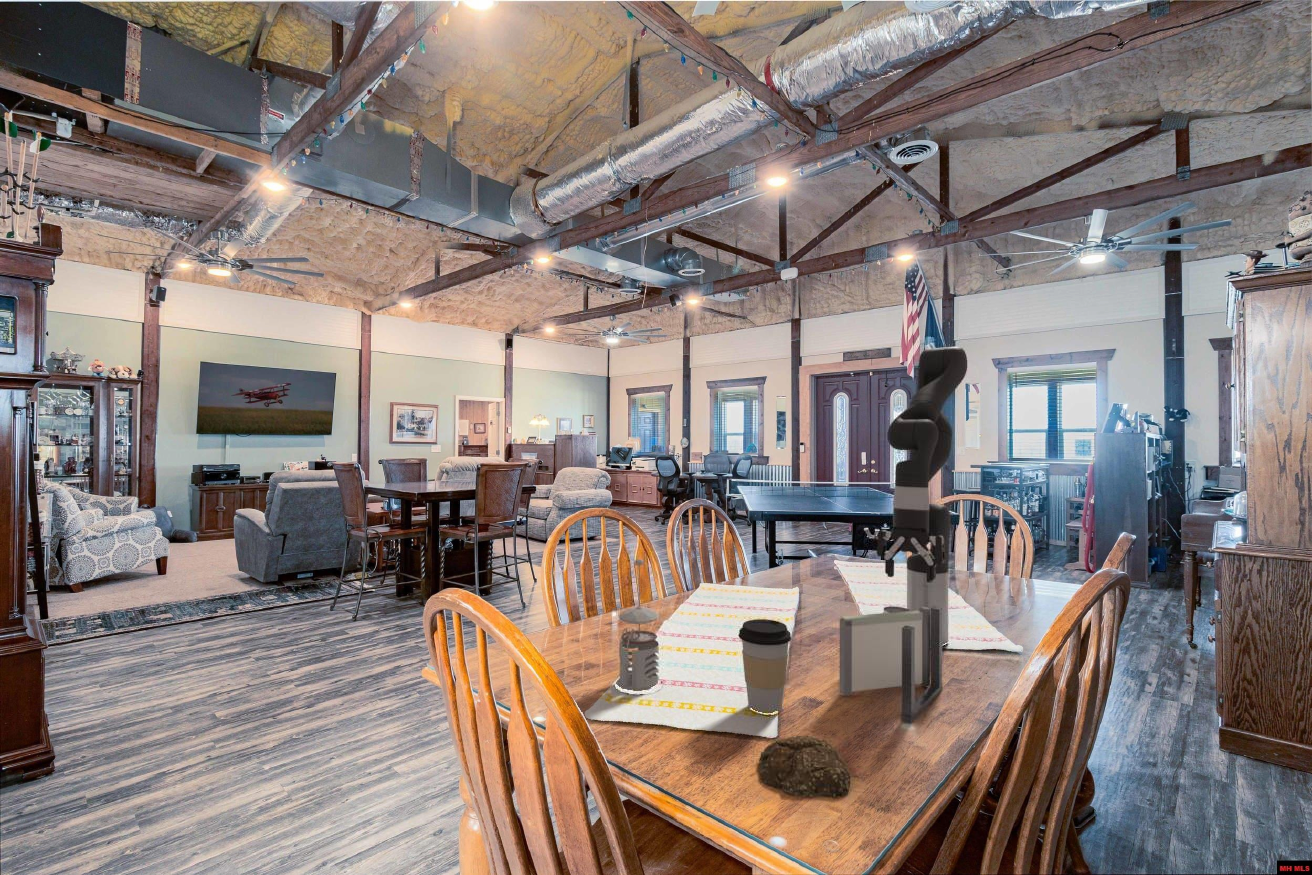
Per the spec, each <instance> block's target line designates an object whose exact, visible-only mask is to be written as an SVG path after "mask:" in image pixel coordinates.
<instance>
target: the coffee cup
mask: <svg viewBox="0 0 1312 875" xmlns="http://www.w3.org/2000/svg"><path fill="white" fill-rule="evenodd" d="M738 638H739V639H741V643H742V650H741V651H742V653H741V654H742V662H743V663H742V664H743V672H744V681H745V686H746V694H747V703H748V704H747V705H748V708H749V707H750V708H752V709H753V710H755V711H758V712H762V713H773V712H775V711H778V713H777V714H779V713H780V712H782V708H783V700H784V699H783V698H784V690H785V685H786V680H787V669H788V661H789V660H788V659H789V651H788V650H789V642H790V641H791V640H792V636H791V632H790V630H788V626H787V625H786V624H785V623H784V622H781V621H778V620H773V619H765V618H762V619H761V618H759V619H758V618H756V619H749V620H746V621H744V622H743V623H742V627H740V629H739V631H738Z"/></svg>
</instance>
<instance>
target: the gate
mask: <svg viewBox="0 0 1312 875" xmlns="http://www.w3.org/2000/svg"><path fill="white" fill-rule="evenodd" d="M904 626H910V627H915V685H919V686H922V687H929V686H930V685H931V646H930V608H928V607H919V611H918V610H917V611H905V612H892V613H883V612H881V613H880V612H879V613H870V614H857V615H855V614H854V615H844V616H840V618H839V693H840V694H841V695H842V696H850V695H851V696H852V695H853V692H858V691H859V692H860V691H868V690H877V689H885V688H895V687H896V688H897V687H902V627H904Z"/></svg>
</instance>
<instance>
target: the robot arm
mask: <svg viewBox="0 0 1312 875" xmlns="http://www.w3.org/2000/svg"><path fill="white" fill-rule="evenodd" d="M917 366H918V368H917V386H916V387H917V389H916V393H915V394H914V395H913V397H912V399H911V400H910V402H909V405H908V407H907V408H906V409H904V411H902V412H901V413H900V414H899V415H898V416H897V417H896V418H895V419H893V420H892V421H891V423H890V425H889V427H888V429H887V430H888V431H887V433H886V434H887V438H886V439H887V442H888V443H889V445H890V446H891V448H893V449H894V450H898V451H910V452H909V453H910V454H909V459H906V460H901V461H898V462H897V463H896V465H895V470H894V471H895V474H894V476H895V478H894V479H895V480H894V481H895V482H894V483H895V484H894V494H893V501H892V506H893V509H892V510H893V511H892V513H893V514H892V531H888V530H886V529H882V530H879V531H878V536H877V548H876V555H877V556H878V557H880V558H883V559H884V563H885V564H884V565H885V566H884V568H885V569H884V573H885V575H887V578H888V577H889V578H893V577H894V575H895V560H894V558H895V557H896V556H897V554H898V553H900V552H903V553H907V552H908V553H913V554H911V555H909V556H907V558H906V608H907V609H909V610H911V611H917V610H918V611H919V607H928V608H930V647H931V607H933V606H936V607H942V645H943V644H945V643H947V642H948V643H949V560H950V538H951V537H950V536H951V535H950V534H951V513H950V510H949V508H948V507H947V506H946V505H945V504H940V503H939V504H938V503H930V490H929V483H930V481H931V480H932V479H933V478H934V476H935V475H936V474H937V473H938V472H939V471H940V470H941V469H942V467H944V465H945V463H946V462H947V461H948V459H949V458H950V455H951V452H952V451H951V450H952V439H953V428H952V425H951V423H950V421H949V420H948V418H947V416H946V415H945V413H944V412H943V407H944V405H945V403H947V400H948V399H949V398H950V397H951V395H952V394H953V393H954V392H955V391H956V389H957V388H958V387H959V385H960V384H962V381H963V380H964V379H965V376H966V375H967V371H968V357H967V354H966V351H965V350H964V348H963V347H959V346H945V347H936V348H935V347H933V348H927V349H924V350H923V351H922V352H921V353H920V355H919V359H918V364H917ZM890 538H891V539H892V541H893V542H894V544H893V545H892V546H891V547H890V548H889V550H888V551H887V543H888V542H887V541H889V540H890ZM929 543H931V547H930V549H929V547H928V546H927V545H928V544H929Z"/></svg>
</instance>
